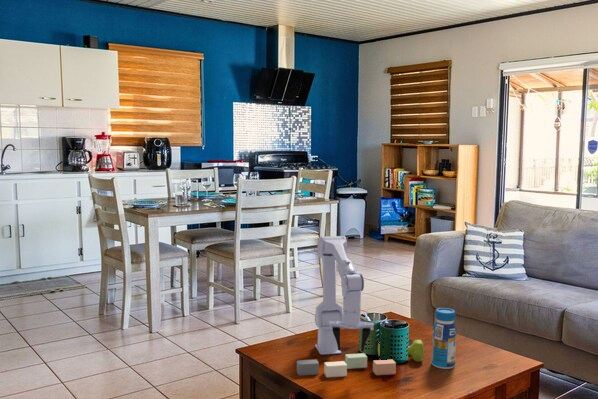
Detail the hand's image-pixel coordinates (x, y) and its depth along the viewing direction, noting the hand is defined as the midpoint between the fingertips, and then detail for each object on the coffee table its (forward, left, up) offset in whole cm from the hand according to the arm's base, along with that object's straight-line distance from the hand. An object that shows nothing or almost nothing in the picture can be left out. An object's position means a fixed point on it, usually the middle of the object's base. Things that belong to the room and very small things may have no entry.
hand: (350, 349), depth 196 cm
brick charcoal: (-7, -13, -10) cm, 18 cm away
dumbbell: (-14, +23, -10) cm, 29 cm away
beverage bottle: (-6, +36, -10) cm, 38 cm away
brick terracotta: (-3, +13, -10) cm, 17 cm away
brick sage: (-10, +5, -10) cm, 15 cm away
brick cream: (-4, -4, -10) cm, 11 cm away
